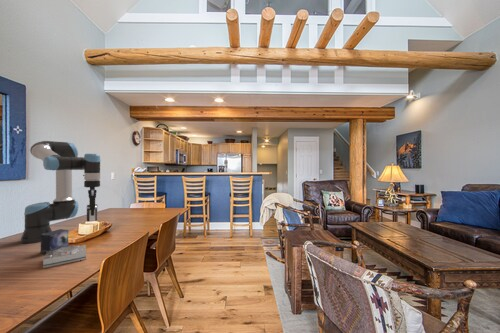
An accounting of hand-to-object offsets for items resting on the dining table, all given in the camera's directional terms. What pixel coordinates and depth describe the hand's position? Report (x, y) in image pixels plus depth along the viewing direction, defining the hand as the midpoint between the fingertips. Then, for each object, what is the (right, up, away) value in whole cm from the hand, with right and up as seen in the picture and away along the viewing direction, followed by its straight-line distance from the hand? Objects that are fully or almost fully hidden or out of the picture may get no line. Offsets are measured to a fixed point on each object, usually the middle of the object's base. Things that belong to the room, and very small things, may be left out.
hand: (92, 219), depth 126 cm
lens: (0, 0, 0) cm, 0 cm away
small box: (-19, -17, -3) cm, 25 cm away
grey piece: (-2, -16, -15) cm, 23 cm away
